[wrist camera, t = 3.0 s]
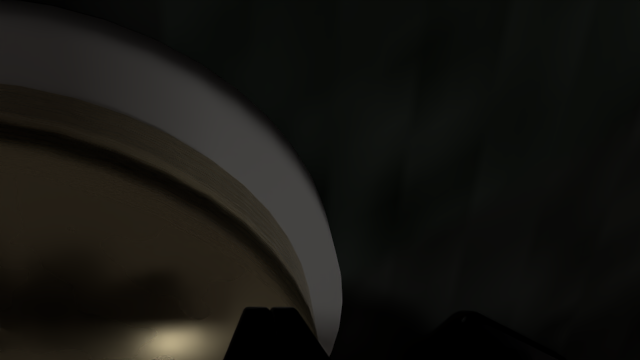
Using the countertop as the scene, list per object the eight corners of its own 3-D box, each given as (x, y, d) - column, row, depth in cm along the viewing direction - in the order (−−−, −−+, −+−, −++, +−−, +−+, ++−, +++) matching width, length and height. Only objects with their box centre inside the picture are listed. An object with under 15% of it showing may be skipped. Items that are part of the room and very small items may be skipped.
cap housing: (299, 429, 23) (306, 478, 21) (-175, 461, 19) (-215, 524, 18) (378, 31, 13) (401, 61, 12) (-539, -52, 10) (-707, -26, 8)
